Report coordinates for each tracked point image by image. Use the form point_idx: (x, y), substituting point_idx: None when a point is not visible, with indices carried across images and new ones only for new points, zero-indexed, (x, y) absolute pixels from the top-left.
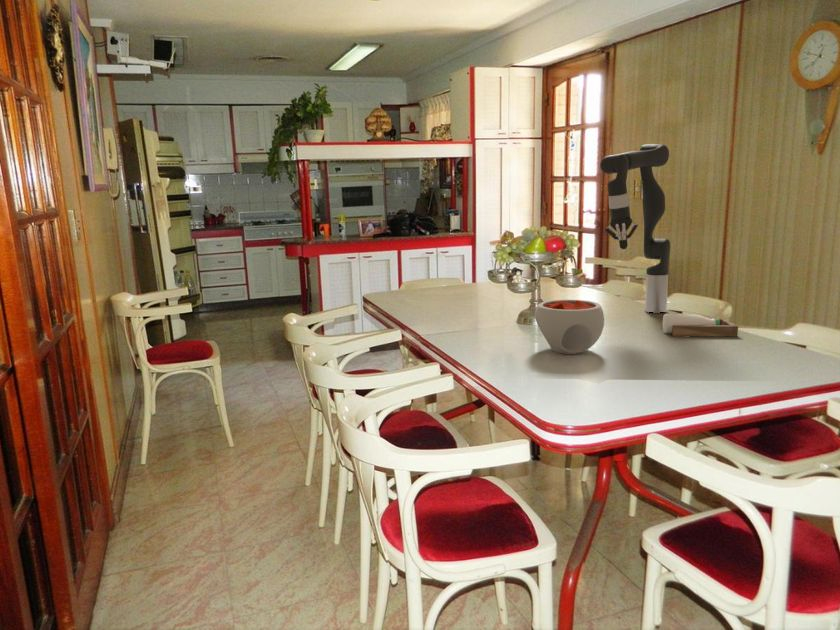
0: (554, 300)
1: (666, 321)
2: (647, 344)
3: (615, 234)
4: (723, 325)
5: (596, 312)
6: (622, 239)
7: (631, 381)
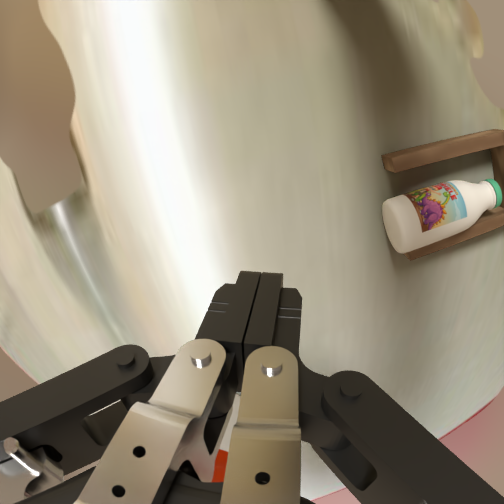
0: None
1: (398, 248)
2: (344, 333)
3: (107, 400)
4: (499, 217)
5: None
6: (235, 371)
7: (317, 463)
